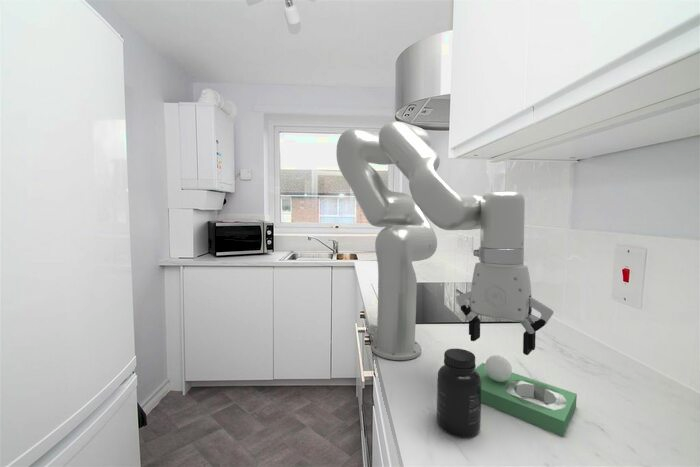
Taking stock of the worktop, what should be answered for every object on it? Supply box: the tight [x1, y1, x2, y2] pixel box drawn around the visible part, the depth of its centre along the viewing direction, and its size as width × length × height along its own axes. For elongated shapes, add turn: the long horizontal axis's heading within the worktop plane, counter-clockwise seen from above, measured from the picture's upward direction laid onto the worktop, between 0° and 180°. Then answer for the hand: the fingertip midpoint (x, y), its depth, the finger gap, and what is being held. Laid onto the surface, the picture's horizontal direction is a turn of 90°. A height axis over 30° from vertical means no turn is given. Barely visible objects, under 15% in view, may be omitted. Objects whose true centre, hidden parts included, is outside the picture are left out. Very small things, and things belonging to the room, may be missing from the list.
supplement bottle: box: [436, 348, 482, 438], centre depth 53 cm, size 7×7×12 cm
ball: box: [484, 354, 513, 382], centre depth 63 cm, size 5×5×5 cm
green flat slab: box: [475, 362, 578, 437], centre depth 61 cm, size 17×11×2 cm, turn 47°
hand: (500, 345), depth 63 cm, fingers open, 9 cm apart
